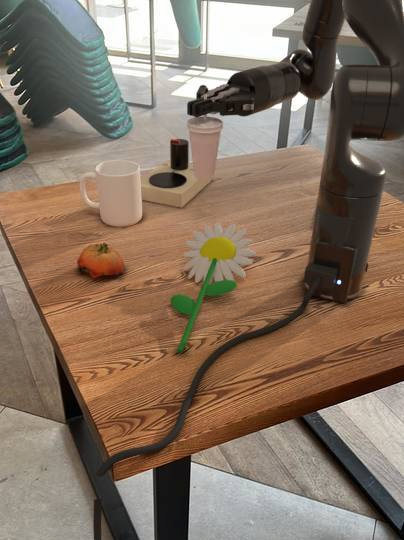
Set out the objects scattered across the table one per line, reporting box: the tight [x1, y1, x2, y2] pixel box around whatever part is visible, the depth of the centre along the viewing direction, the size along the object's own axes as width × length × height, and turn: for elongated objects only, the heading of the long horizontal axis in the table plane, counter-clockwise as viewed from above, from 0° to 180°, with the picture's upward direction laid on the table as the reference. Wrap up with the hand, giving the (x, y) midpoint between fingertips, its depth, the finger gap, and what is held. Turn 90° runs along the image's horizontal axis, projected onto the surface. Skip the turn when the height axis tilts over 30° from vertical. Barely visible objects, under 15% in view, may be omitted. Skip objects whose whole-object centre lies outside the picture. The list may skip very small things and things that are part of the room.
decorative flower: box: [170, 222, 257, 354], centre depth 90 cm, size 13×5×30 cm
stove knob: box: [169, 138, 190, 170], centre depth 125 cm, size 4×4×6 cm
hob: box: [140, 159, 212, 209], centre depth 124 cm, size 17×11×3 cm, turn 157°
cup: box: [79, 159, 143, 228], centre depth 110 cm, size 8×12×10 cm
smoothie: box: [186, 94, 224, 180], centre depth 102 cm, size 6×6×14 cm
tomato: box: [76, 242, 125, 279], centre depth 96 cm, size 8×7×7 cm
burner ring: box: [149, 172, 187, 188], centre depth 121 cm, size 8×8×1 cm
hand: (191, 110), depth 97 cm, fingers closed on smoothie, 1 cm apart
